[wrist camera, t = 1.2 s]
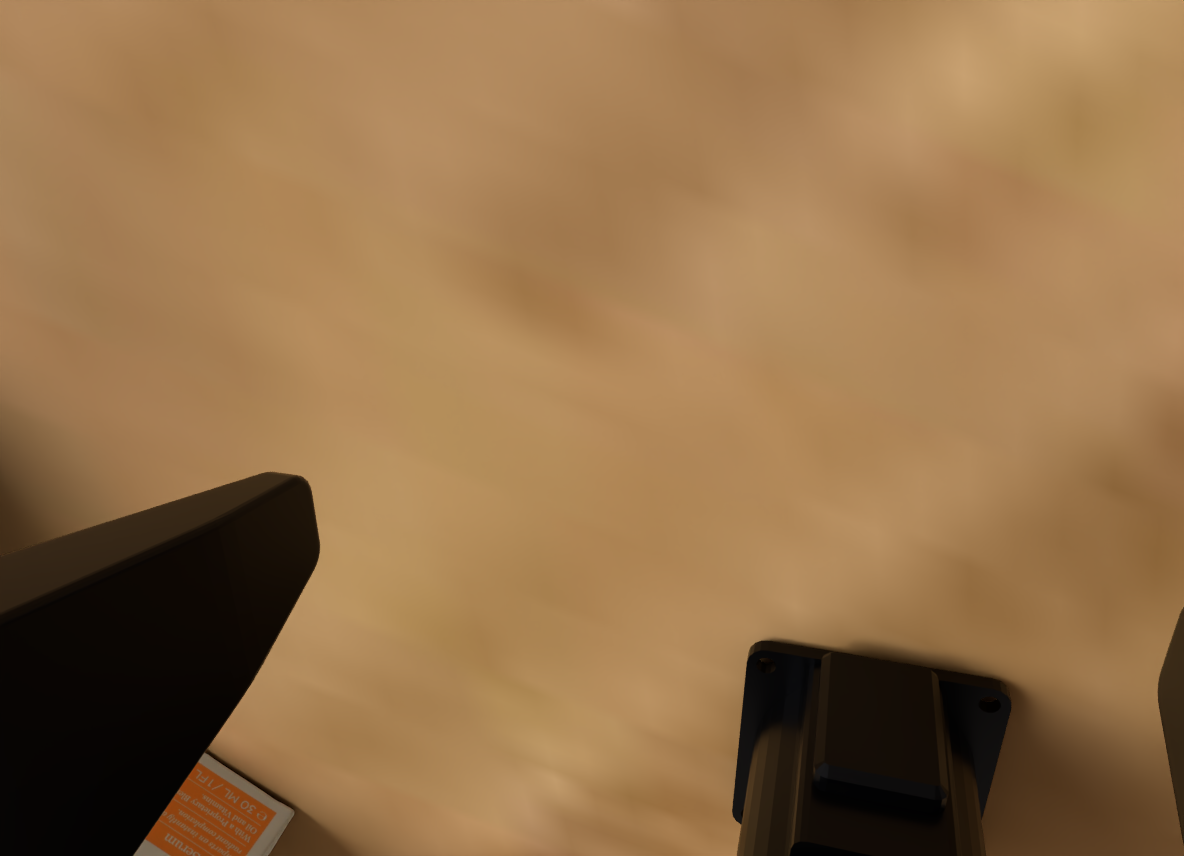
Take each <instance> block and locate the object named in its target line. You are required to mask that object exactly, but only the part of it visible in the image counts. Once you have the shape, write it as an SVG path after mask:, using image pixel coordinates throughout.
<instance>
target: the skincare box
mask: <svg viewBox="0 0 1184 856" xmlns="http://www.w3.org/2000/svg"><path fill="white" fill-rule="evenodd" d="M293 815H294V810H293V809H291V808H290V807H288V806H286V805H285V804H283V803H281V802H279V801H277V800H275V799H274V798H272V797H271V796H269V795H268V794H266V793H265V792H263V791H262V790H260V789H259V788H257V787H256V786H254V785H253V784H251V783H250V782H248V781H247V780H245V779H244V778H242V777H241V776H239V775H238V774H236V773H234V772H233V771H231V770H230V769H228V768H227V767H225V766H224V765H222V764H221V763H219V762H218V761H216V760H215V759H213V758H212V757H211V756H209V755H208V754H206V753H204V754H203V756H202V757H201V759H200V760H199V761H198V763H197V764H196V766H195V767H194V769H193V770H192V772H191V773H190V774H189V776H188V777H187V779H186V780H185V782H184V783H183V785H182V786H181V788H180V789H179V790H178V792H177V793H176V795H175V796H174V798H173V799H172V801H171V802H170V804H169V805H168V806H167V808H166V809H165V811H164V812H163V814H162V815H161V817H160V818H159V819H158V821H157V822H156V824H155V825H154V827H153V828H152V830H151V831H150V833H149V834H148V835H147V837H146V838H145V840H144V841H143V843H142V844H141V846H140V847H139V849H138V850H137V851H136V853H135V854H134V856H268V855H269V854H270V852H271V851H272V849H273V848H274V846H275V844H276V843H277V841H278V840H279V838H280V836H281V835H282V833H283V831H284V830H285V828H286V826H287V825H288V823H289V822H290V820H291V819H292V817H293Z"/></svg>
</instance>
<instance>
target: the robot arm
mask: <svg viewBox="0 0 1184 856" xmlns="http://www.w3.org/2000/svg"><path fill="white" fill-rule="evenodd" d="M319 553H320V541H319V534H318V528H317V522H316V515H315V509H314V503H313V496H312V491H311V487H310V485H309V483H308V481H307V480H306V479H304V478H303V477H302V476H298V475H292V474H285V473H277V472H265V473H261V474H258V475H255V476H252V477H249V478H246V479H242V480H239V481H236V482H233V483H230V484H226V485H223V486H220V487H217V488H214V489H211V490H207V491H204V492H201V493H198V494H195V495H192V496H188V497H185V498H182V499H179V500H176V501H172V502H169V503H166V504H163V505H160V506H157V507H153V508H150V509H147V510H144V511H141V512H138V513H134V514H131V515H128V516H125V517H122V518H119V519H115V520H112V521H109V522H106V523H103V524H99V525H96V526H93V527H90V528H87V529H84V530H80V531H77V532H74V533H71V534H68V535H65V536H61V537H58V538H55V539H52V540H49V541H45V542H42V543H39V544H36V545H33V546H30V547H26V548H23V549H20V550H17V551H14V552H11V553H7V554H4V555H1V556H0V856H134V854H135V853H136V851H137V850H138V849H139V847H140V846H141V844H142V843H143V841H144V840H145V838H146V837H147V835H148V834H149V833H150V831H151V830H152V828H153V827H154V825H155V824H156V822H157V821H158V819H159V818H160V817H161V815H162V814H163V812H164V811H165V809H166V808H167V806H168V805H169V804H170V802H171V801H172V799H173V798H174V796H175V795H176V793H177V792H178V790H179V789H180V788H181V786H182V785H183V783H184V782H185V780H186V779H187V777H188V776H189V774H190V773H191V772H192V770H193V769H194V767H195V766H196V764H197V763H198V761H199V760H200V759H201V757H202V756H203V754H204V753H205V751H206V750H207V748H208V747H209V745H210V744H211V743H212V741H213V740H214V738H215V737H216V735H217V734H218V732H219V731H220V729H221V728H222V727H223V725H224V724H225V722H226V721H227V719H228V718H229V716H230V715H231V714H232V712H233V711H234V709H235V708H236V706H237V705H238V703H239V702H240V700H241V699H242V697H243V696H244V694H245V693H246V691H247V690H248V688H249V686H250V685H251V683H252V682H253V680H254V678H255V676H256V675H257V673H258V671H259V670H260V668H261V666H262V665H263V663H264V661H265V659H266V657H267V656H268V654H269V652H270V650H271V648H272V646H273V645H274V643H275V641H276V639H277V637H278V635H279V633H280V632H281V630H282V628H283V626H284V624H285V622H286V621H287V619H288V617H289V615H290V613H291V611H292V610H293V608H294V606H295V604H296V602H297V600H298V599H299V597H300V595H301V593H302V591H303V589H304V588H305V586H306V584H307V582H308V580H309V578H310V577H311V575H312V573H313V571H314V569H315V567H316V564H317V561H318V558H319ZM761 658H769V659H771V660H773V661H774V662H773V663H764V662H762V661H761V660H760V659H761ZM985 697H994V698H996V699H997V700H994V701H992V702H985V701H983V700H981V699H982V698H985ZM1158 703H1159V709H1160V715H1161V720H1162V726H1163V731H1164V737H1165V743H1166V748H1167V754H1168V760H1169V765H1170V771H1171V777H1172V782H1173V788H1174V793H1175V799H1176V805H1177V810H1178V816H1179V822H1180V827H1181V833H1182V839H1183V844H1184V607H1183V609H1182V610H1181V613H1180V615H1179V618H1178V621H1177V624H1176V627H1175V630H1174V633H1173V636H1172V639H1171V642H1170V645H1169V648H1168V651H1167V654H1166V657H1165V660H1164V663H1163V666H1162V669H1161V673H1160V676H1159V682H1158ZM1010 712H1011V698H1010V693H1009V690H1008V688H1007V687H1006V685H1004V684H1003V683H1002V682H1000V681H998V680H995V679H992V678H986V677H980V676H974V675H968V674H962V673H956V672H951V671H945V670H939V669H933V668H927V667H921V666H915V665H909V664H903V663H897V662H891V661H885V660H880V659H874V658H868V657H862V656H856V655H850V654H844V653H838V652H832V651H826V650H820V649H814V648H809V647H803V646H797V645H791V644H785V643H779V642H773V641H760V642H757V643H755V644H754V645H752V646H751V648H750V650H749V654H748V659H747V667H746V677H745V687H744V697H743V707H742V718H741V728H740V738H739V748H738V758H737V768H736V779H735V789H734V799H733V809H732V812H733V817H734V818H735V820H736V821H737V822H739V823H740V824H741V831H740V838H739V844H738V851H737V856H986V852H985V844H984V836H983V829H982V821H981V820H982V816H983V813H984V809H985V805H986V801H987V798H988V794H989V790H990V787H991V783H992V779H993V775H994V772H995V768H996V764H997V760H998V757H999V753H1000V749H1001V745H1002V742H1003V738H1004V734H1005V730H1006V727H1007V723H1008V719H1009V715H1010Z"/></svg>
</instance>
